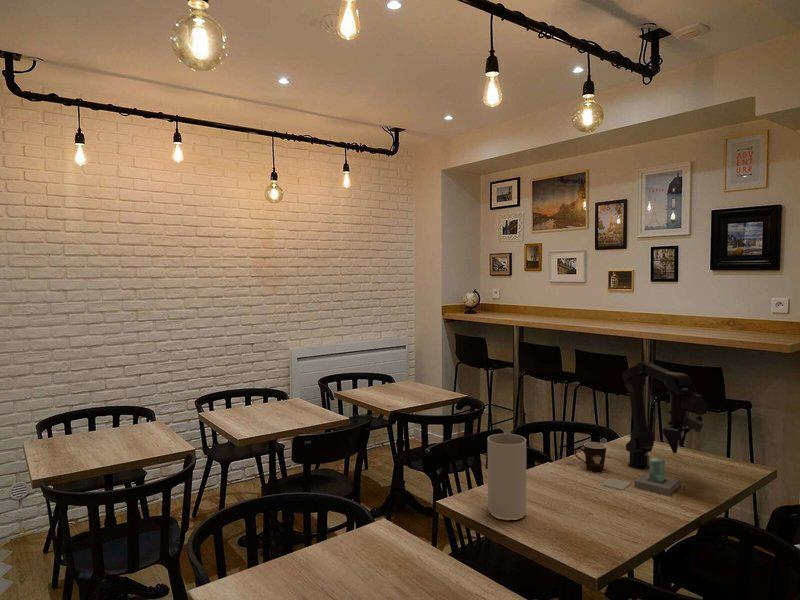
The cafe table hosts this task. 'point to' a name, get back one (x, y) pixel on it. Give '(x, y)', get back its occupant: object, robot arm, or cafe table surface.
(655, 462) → the peg
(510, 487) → the cylinder vase
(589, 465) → the coffee mug
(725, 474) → the cafe table surface
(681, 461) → the cafe table surface
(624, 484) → the mat
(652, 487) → the pocket plate
